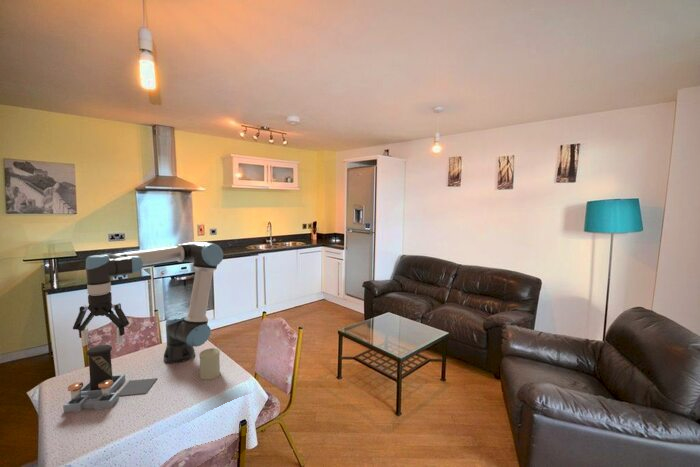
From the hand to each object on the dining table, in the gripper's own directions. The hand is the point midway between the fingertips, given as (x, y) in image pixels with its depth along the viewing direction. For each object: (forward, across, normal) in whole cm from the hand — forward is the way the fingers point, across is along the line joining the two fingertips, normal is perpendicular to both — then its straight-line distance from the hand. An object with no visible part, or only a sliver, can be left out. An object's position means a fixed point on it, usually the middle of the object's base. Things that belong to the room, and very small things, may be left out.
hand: (102, 344), depth 130 cm
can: (+27, -37, -17) cm, 49 cm away
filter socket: (+26, +8, -12) cm, 30 cm away
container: (+27, +8, -12) cm, 30 cm away
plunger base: (+26, +5, 0) cm, 27 cm away
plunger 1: (+24, +11, 0) cm, 26 cm away
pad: (+26, -7, -11) cm, 29 cm away
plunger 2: (+23, 0, 0) cm, 23 cm away
